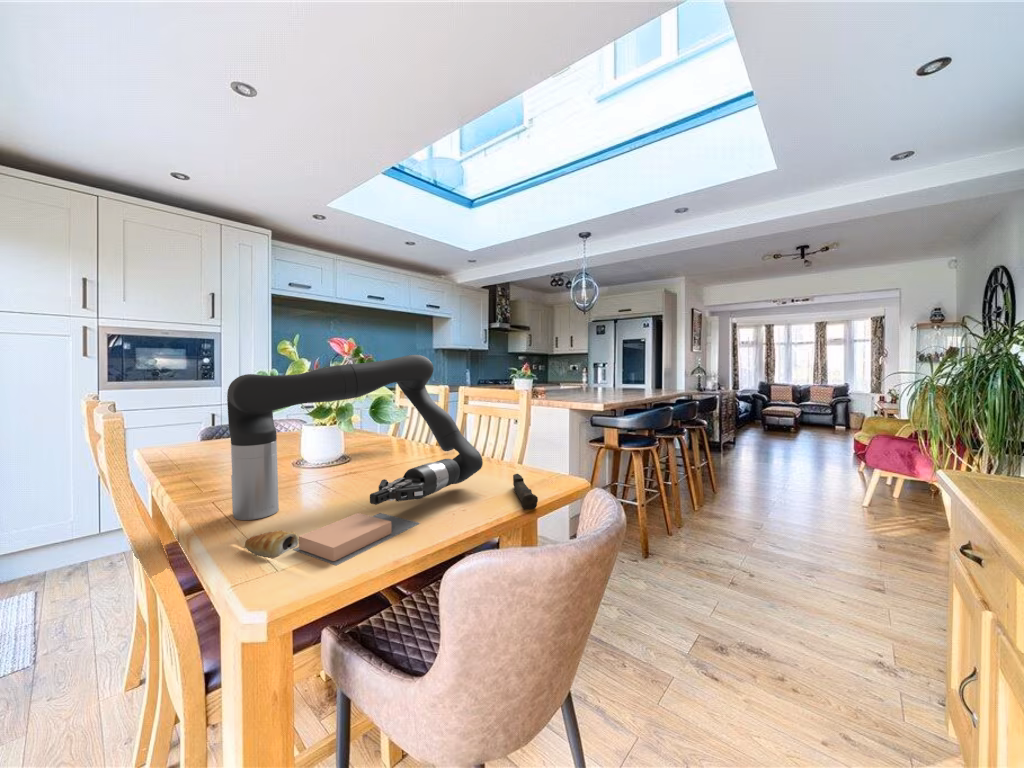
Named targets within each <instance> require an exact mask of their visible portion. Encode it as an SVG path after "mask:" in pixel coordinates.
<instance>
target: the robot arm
mask: <svg viewBox="0 0 1024 768" xmlns="http://www.w3.org/2000/svg"><path fill="white" fill-rule="evenodd" d="M433 373H434V364H433V362H432V361H431V360H430V359H429V358H428V357H426V356H425V355H420V354H409V355H404V356H399V357H395V358H389V359H384V360H378V361H369V362H362V363H349V364H339V365H330V366H325V367H320V368H316V369H313V370H311V371H310V370H309V371H306V372H303V373H296V374H281V375H278V374H276V375H262V374H255V373H253V374H252V373H250V374H249V373H247V374H243V375H242V374H241V375H239V376H238V377H236V378H235V379H233V380H232V381H231V383H230V384H229V386H228V389H227V393H226V394H227V396H226V397H227V399H226V400H227V403H226V405H227V418H228V419H227V420H228V423H227V424H228V431H229V436H230V452H231V453H230V454H231V455H230V456H231V457H230V458H231V476H230V477H231V500H232V501H231V503H232V504H231V505H232V515H233V518H234V519H235V520H239V521H251V520H257V519H258V520H259V519H263V518H266V517H269V516H272V515H274V514H276V513H278V511H279V479H278V478H279V477H278V474H279V473H278V472H279V471H278V442H277V439H278V438H277V436H278V435H277V428H276V426H275V421H274V414H273V413H274V412H273V411H276V410H281V409H285V408H289V407H293V406H297V405H302V404H313V403H315V404H316V403H318V404H319V403H327V402H334V401H335V402H336V401H343V400H350V399H356V398H361V397H363V396H365V395H368V394H370V393H372V392H375V391H378V390H379V389H381V388H383V387H386V386H388V385H391V384H394V383H395V384H397V385H398V387H399V389H400V390H401V391H402V393H403V394H404V395H405V396H406V398H407V399H408V400H409V402H410V403H411V404H412V405H413V408H415V409H416V410H417V412H418V413H419V414H420V416H421V417H422V419H423V420H424V422H425V423H426V424H427V425H428V428H429V430H430V431H431V433H432V434H433V436H434V438H435V440H436V442H437V444H438V445H439V447H440V449H441V450H442V451H444V452H450V451H453V450H455V451H456V452H458V455H456V456H454V457H453V458H443V459H440V460H437V461H434V462H428V463H424V464H421V465H418V466H416V467H412V468H410V469H408V470H406V472H404V474H403V476H402V477H398V478H397V479H395V480H393V481H392V482H391V481H390V482H389V480H387V479H386V478H385V479H382V480H381V481H380V483H379V485H378V490H377V491H375V492H373V493H370V494H369V504H371V505H375V506H376V505H379V504H383V503H384V502H387V501H388V502H393V501H395V502H403V501H404V502H405V501H412V500H413V501H415V500H421V499H423V498H426V497H428V496H430V495H432V494H435V493H437V492H439V491H441V490H442V489H444V488H446V487H448V486H451V485H456V484H460V483H463V482H464V481H466V480H468V479H469V478H471V477H472V476H473V475H476V473H478V472H479V471H480V470H481V469H482V468H483V463H484V462H483V461H484V460H483V457H482V454H481V453H480V452H479V450H478V449H477V448H476V447H475V446H474V445H473V444H471V442H469V441H468V439H467V438H465V437H464V435H463V434H462V432H461V430H460V429H459V427H458V425H457V424H456V422H455V420H454V418H452V416H451V415H450V414H449V413H448V412H447V411H446V410H445V409H444V408H443V407H441V406H439V405H438V404H437V403H436V402H435V401H434V400H433V399H432V397H430V396H431V395H430V394H429V392H428V390H427V387H426V385H427V384H428V382H429V381H430V380H431V378H432V376H433Z"/></svg>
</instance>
